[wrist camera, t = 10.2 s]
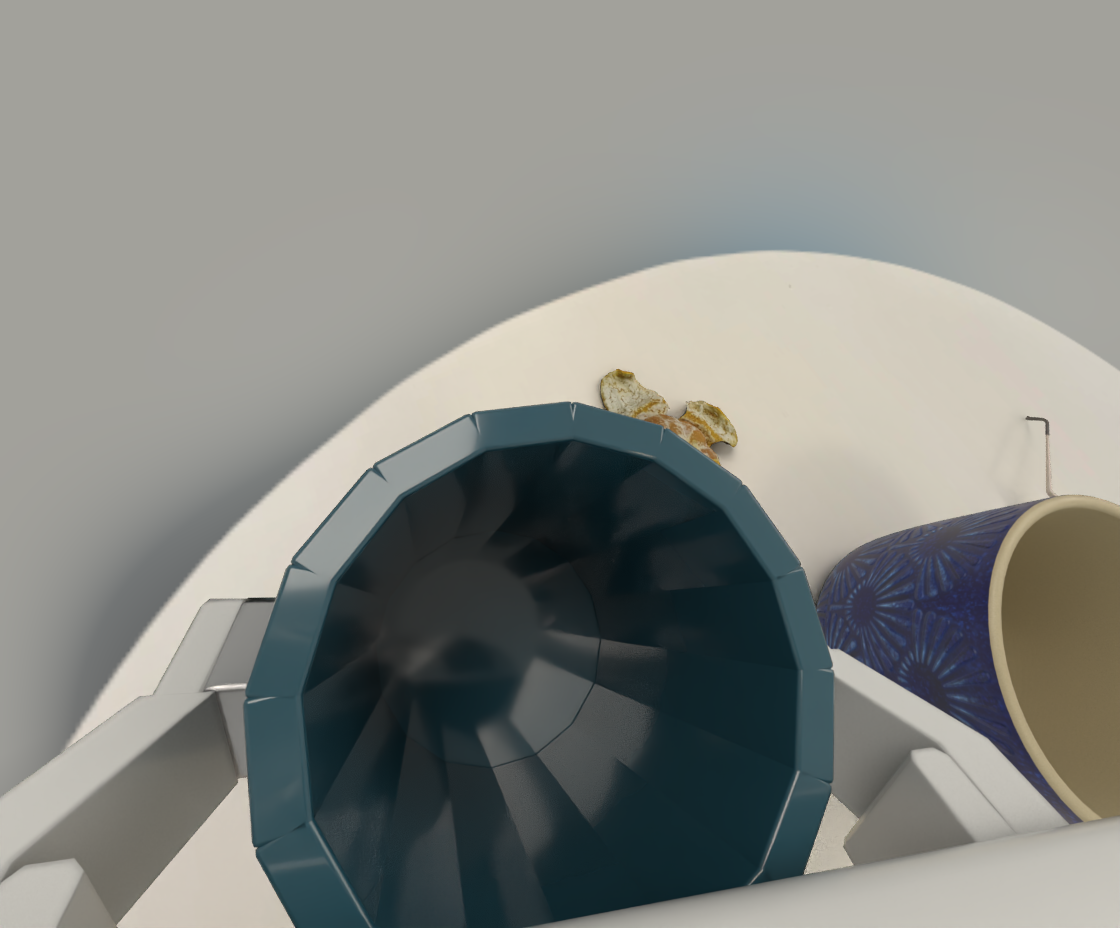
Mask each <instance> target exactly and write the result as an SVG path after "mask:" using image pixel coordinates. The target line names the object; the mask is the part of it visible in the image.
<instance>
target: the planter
mask: <svg viewBox="0 0 1120 928" xmlns="http://www.w3.org/2000/svg"><path fill="white" fill-rule="evenodd" d="M816 610H817V613H818V616H819V620H820V623H821V626H822V629H823V633H824V636H825V639H826V642H827V645H828V646H829V647H830V649H839V650H841V651H843V652H844V653H846V654H848V655H849V656H851V657H853V658H854V659H856V660H858V661H859V662H861V663H863V664H864V665H866V666H868V667H869V668H871V669H873V670H874V671H876V672H878V673H879V674H881V675H883V676H884V677H886V678H888V679H889V680H891V681H893V682H894V683H896V684H898V685H899V686H901V687H903V688H904V689H906V690H908V691H909V692H911V693H913V694H914V695H916V696H918V697H919V698H921V699H923V700H924V701H926V702H928V703H929V704H931V705H933V706H934V707H936V708H938V709H939V710H941V711H943V712H944V713H946V714H948V715H949V716H951V717H953V718H954V719H956V720H958V721H959V722H961V723H963V724H964V725H966V726H968V727H969V728H971V729H973V730H974V731H976V732H978V733H979V734H981V735H983V736H984V737H986V738H988V739H989V740H990V741H991V742H992V743H993V745H994V746H995V747H996V748H997V749H998V750H999V751H1000V752H1001V753H1002V754H1003V755H1004V756H1005V757H1006V758H1007V759H1008V760H1009V761H1010V762H1011V763H1012V765H1013V766H1014V767H1015V768H1016V769H1017V770H1018V771H1019V772H1020V773H1021V774H1022V775H1023V776H1024V777H1025V778H1026V779H1027V780H1028V781H1029V782H1030V783H1031V785H1032V786H1033V787H1034V788H1035V789H1036V790H1037V791H1038V792H1039V793H1040V794H1041V795H1042V796H1043V797H1044V798H1045V799H1046V800H1047V801H1048V802H1049V804H1050V805H1051V806H1052V807H1053V808H1054V809H1055V810H1056V811H1057V812H1058V813H1059V814H1060V815H1061V816H1062V817H1063V818H1064V819H1065V820H1066V821H1067V822H1068V824H1069V825H1070V824H1076V823H1081V822H1086V821H1092V820H1097V819H1102V818H1108V817H1113V816H1118V815H1120V506H1119V505H1116V504H1114V503H1111V502H1109V501H1106V500H1103V499H1099V498H1095V497H1091V496H1084V495H1062V496H1055V497H1050V498H1046V499H1041V500H1037V501H1032V502H1027V503H1022V504H1018V505H1013V506H1008V507H1003V508H999V509H994V510H989V511H984V512H980V513H975V514H970V515H966V516H961V517H957V518H952V519H947V520H943V521H938V522H934V523H930V524H926V525H922V526H918V527H914V528H910V529H906V530H903V531H900V532H896V533H893V534H890V535H887V536H884V537H881V538H878V539H875V540H873V541H871V542H869V543H866V544H864V545H862V546H860V547H859V548H857V549H855V550H854V551H852V552H851V553H849V554H848V555H847V556H846V557H845V558H843V559H842V560H841V561H840V562H839V563H838V564H837V566H836V567H835V568H834V569H833V570H832V572H831V573H830V575H829V576H828V578H827V580H826V582H825V584H824V586H823V588H822V591H821V593H820V596H819V600H818V603H817V608H816Z"/></svg>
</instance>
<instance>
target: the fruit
mask: <svg viewBox="0 0 1120 928" xmlns="http://www.w3.org/2000/svg"><path fill="white" fill-rule="evenodd" d="M601 396H602V400H603V403H604V406H605V408H606V409H607V411H611V412H615V413H618V414H622V415H626V416H629V417H633V418H637V419H640V420H644V421H648V422H651V423H655V424H659V425H662V426H663V427H664V429H665V428H668V429H670V430H672V431H673V432H674V433H676V434H677V435H678V436H680V437H681V438H683V439H684V440H685V441H687V442H688V443H690V444H691V445H692V446H694V447H695V448H697V449H698V450H699V451H701V452H702V453H704V454H705V455H706V456H708V457H709V458H711V459H712V460H713V461H715V462H716V463H717V464H719V465H720V463H719V459H718V456H717V454H716V453H715V452H714V451H713V450H712V449H711V448H710V446H711V445H712V444H714V443H716V442H719V441H723V442H724V443H726V444H729V445H731V446H732V447H735V446H736V444H737V441H738V439H737V435H736V431H735V429H734V427H733V425H732V424H731V423H730V421H729V419H728V418H727V417H726V416H725V415H724V414H723V412H722V411H721V410H720V409H719V408H718V407H714V406H713V405H710V404H708V403H706V402H704V401H697V402H692V401H689V402H690V403H689V404H688V403H687V402H686V404H687V411H686V414H685V415H684V416H681V417H680V418H679V419H677V418H675V417H671V416H667V415H666V413H667V411H668V409H670V408H669V406H668V404H667V403H666V402H665V400H664V398H663V397H661V396H659V395H658V394H657V393H656V392H655V391H652V390H648V389H646V388H644V387H642V386H641V385H640V384H639V382H638V381H637V380H636V379H635V376H634V374H633V373H631V372H626V371H621V370H620V369H617V370H616V371H613V372H610V373H608V375H606V376H605V377H604V378H603V379H602V380H601ZM720 466H721V465H720Z"/></svg>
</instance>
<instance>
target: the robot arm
mask: <svg viewBox="0 0 1120 928" xmlns="http://www.w3.org/2000/svg"><path fill="white" fill-rule="evenodd" d="M275 600H276V598H248V599H209V600H208V601H207V602H206V603H204V604H203V605H202V606H201V607H200V609H199V611H198V613H197V614H196V616H195V618H194V620H193V622H192V624H191V625H190V627H189V629H188V631H187V633H186V635H185V636H184V638H183V640H182V642H181V644H180V646H179V647H178V649H177V651H176V653H175V655H174V657H173V658H172V660H171V662H170V664H169V666H168V668H167V669H166V671H165V673H164V675H163V677H162V679H161V680H160V682H159V684H158V686H157V688H156V690H155V691H154V693H153V695H150V696H139V697H138V698H136V699H135V700H134V701H132V702H131V703H129V704H128V705H127V706H125V707H124V708H123V709H121V710H120V711H118V712H117V713H116V714H114V715H113V716H112V717H110V718H109V719H107V720H106V721H105V722H103V723H102V724H101V725H99V726H98V727H96V728H95V729H94V730H92V731H91V732H89V733H88V734H87V735H85V736H84V737H83V738H81V739H80V740H78V741H77V742H76V743H74V744H73V745H72V746H70V747H69V748H67V749H66V750H65V751H63V752H62V753H61V754H59V755H58V756H56V757H55V758H54V759H52V760H51V761H49V762H48V763H47V764H45V765H44V766H43V767H41V768H40V769H38V770H37V771H36V772H34V773H33V774H32V775H30V776H29V777H27V778H26V779H25V780H23V781H22V782H21V783H19V784H18V785H17V786H15V787H14V788H12V789H11V790H9V791H8V792H7V793H5V794H4V795H3V796H1V797H0V928H117V926H116V925H117V924H118V923H119V921H120V920H121V919H122V918H123V917H124V915H125V914H126V913H127V912H128V911H129V910H130V908H131V907H132V906H133V905H134V904H135V903H136V901H137V900H138V899H139V898H140V897H141V896H142V894H143V893H144V892H145V891H146V890H147V889H148V887H149V886H150V885H151V884H152V883H153V882H154V880H155V879H156V878H157V877H158V876H159V875H160V873H161V872H162V871H163V870H164V869H165V867H166V866H167V865H168V864H169V863H170V862H171V860H172V859H173V858H174V857H175V856H176V855H177V853H178V852H179V851H180V850H181V849H182V848H183V846H184V845H185V844H186V843H187V842H188V841H189V839H190V838H191V837H192V836H193V835H194V834H195V832H196V831H197V830H198V829H199V828H200V827H201V825H202V824H203V823H204V822H205V821H206V820H207V818H208V817H209V816H210V815H211V814H212V812H213V811H214V810H215V809H216V808H217V807H218V805H219V804H220V803H221V802H222V801H223V800H224V798H225V797H226V796H227V795H228V794H229V793H230V791H231V790H232V789H233V788H234V787H235V786H236V784H237V783H238V780H237V779H238V778H246V777H247V762H246V747H245V732H244V717H243V703H244V700H245V699H246V698H247V697H246V696H245V688H246V685H247V682H248V679H249V676H250V674H251V671H252V668H253V665H254V662H255V659H256V656H257V653H258V650H259V647H260V644H261V641H262V638H263V635H264V632H265V629H266V626H267V623H268V620H269V618H270V615H271V612H272V609H273V606H274V603H275ZM827 646H828V645H827ZM828 649H829V652H830V655H831V659H832V662H833V667H832V668H831V669H832V670H834V674H835V685H834V780H833V783H830V785H831V786H832V792H831V793H832V794H833V795H834V796H835V797H836V798H837V799H838V800H839V801H840V802H841V803H843V804H844V805H845V806H846V807H847V808H848V809H849V810H850V811H851V812H852V813H853V814H855V815H856V816H857V817H858V818H859V820H858V821H857V823H856V824H855V825H854V827H853V828H852V829H851V831H850V832H849V833H848V834H847V836H846V837H845V841H844V846H843V847H844V849H845V851H846V852H847V854H848V856H849V858H850V859H851V861H852V863H853V866H848V867H843V868H838V869H832V870H827V871H822V872H816V873H811V874H806V875H800V876H795V877H790V878H785V879H779V880H774V881H769V882H763V883H758V884H753V885H748V886H742V887H737V888H732V889H726V890H721V891H716V892H711V893H705V894H700V895H695V896H689V897H684V898H679V899H673V900H668V901H663V902H658V903H652V904H647V905H642V906H636V907H631V908H626V909H621V910H615V911H610V912H605V913H599V914H594V915H589V916H584V917H578V918H573V919H568V920H562V921H557V922H552V923H547V924H541V925H536V926H531V927H525V928H1120V815H1118V816H1113V817H1108V818H1102V819H1097V820H1092V821H1086V822H1081V823H1076V824H1070V825H1069V824H1068V822H1067V821H1066V820H1065V819H1064V818H1063V817H1062V816H1061V815H1060V814H1059V813H1058V812H1057V811H1056V810H1055V809H1054V808H1053V807H1052V806H1051V805H1050V804H1049V802H1048V801H1047V800H1046V799H1045V798H1044V797H1043V796H1042V795H1041V794H1040V793H1039V792H1038V791H1037V790H1036V789H1035V788H1034V787H1033V786H1032V785H1031V783H1030V782H1029V781H1028V780H1027V779H1026V778H1025V777H1024V776H1023V775H1022V774H1021V773H1020V772H1019V771H1018V770H1017V769H1016V768H1015V767H1014V766H1013V765H1012V763H1011V762H1010V761H1009V760H1008V759H1007V758H1006V757H1005V756H1004V755H1003V754H1002V753H1001V752H1000V751H999V750H998V749H997V748H996V747H995V746H994V745H993V743H992V742H991V741H990V740H989V739H988V738H986V737H984V736H983V735H981V734H979V733H978V732H976V731H974V730H973V729H971V728H969V727H968V726H966V725H964V724H963V723H961V722H959V721H958V720H956V719H954V718H953V717H951V716H949V715H948V714H946V713H944V712H943V711H941V710H939V709H938V708H936V707H934V706H933V705H931V704H929V703H928V702H926V701H924V700H923V699H921V698H919V697H918V696H916V695H914V694H913V693H911V692H909V691H908V690H906V689H904V688H903V687H901V686H899V685H898V684H896V683H894V682H893V681H891V680H889V679H888V678H886V677H884V676H883V675H881V674H879V673H878V672H876V671H874V670H873V669H871V668H869V667H868V666H866V665H864V664H863V663H861V662H859V661H858V660H856V659H854V658H853V657H851V656H849V655H848V654H846V653H844V652H843V651H841V650H839V649H830V647H829V646H828Z"/></svg>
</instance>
